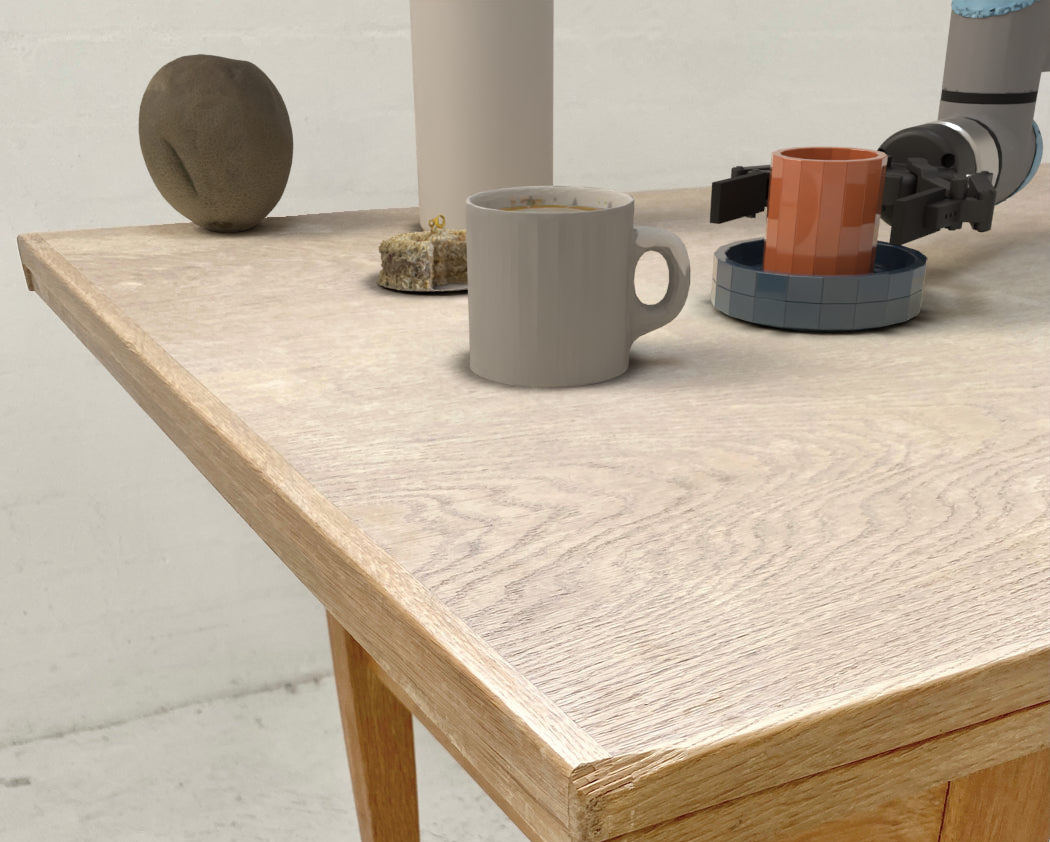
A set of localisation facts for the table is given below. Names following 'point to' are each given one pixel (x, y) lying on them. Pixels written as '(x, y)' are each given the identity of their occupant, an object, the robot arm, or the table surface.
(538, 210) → the coffee mug
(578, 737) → the table surface
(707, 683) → the table surface
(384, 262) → the cake
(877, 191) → the tumbler
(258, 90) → the brown rounded stone
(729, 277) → the bowl
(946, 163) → the robot arm
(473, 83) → the cylinder vase
